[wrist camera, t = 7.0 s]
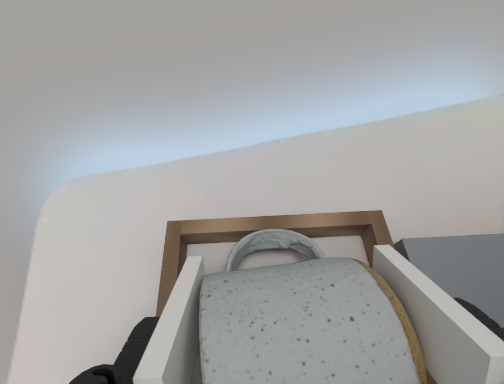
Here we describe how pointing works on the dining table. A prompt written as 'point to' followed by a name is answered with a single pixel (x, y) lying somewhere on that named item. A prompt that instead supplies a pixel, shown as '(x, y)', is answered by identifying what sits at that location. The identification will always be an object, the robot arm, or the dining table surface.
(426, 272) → the grey board
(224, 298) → the ceramic mug
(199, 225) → the walnut frame
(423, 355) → the robot arm
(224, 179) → the dining table surface
